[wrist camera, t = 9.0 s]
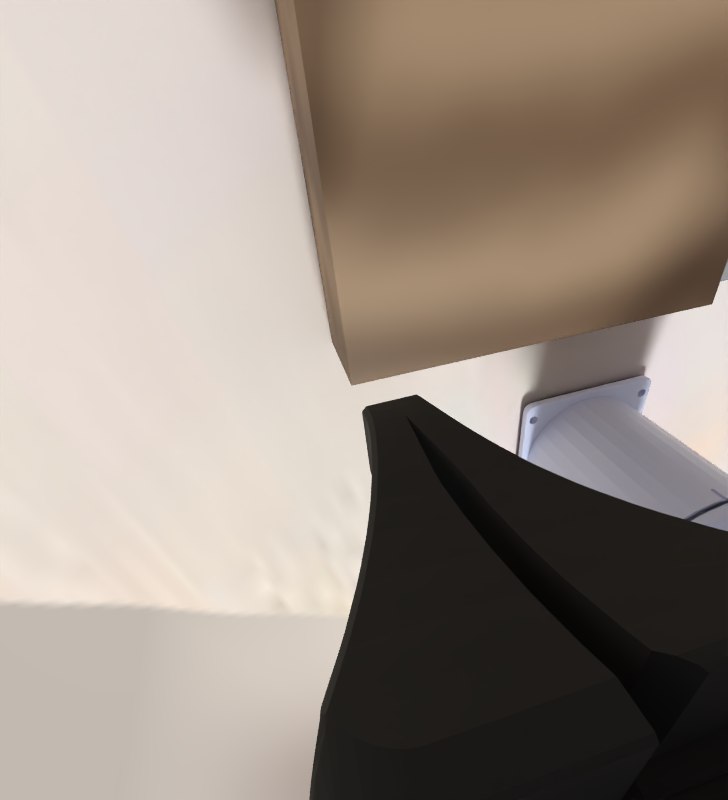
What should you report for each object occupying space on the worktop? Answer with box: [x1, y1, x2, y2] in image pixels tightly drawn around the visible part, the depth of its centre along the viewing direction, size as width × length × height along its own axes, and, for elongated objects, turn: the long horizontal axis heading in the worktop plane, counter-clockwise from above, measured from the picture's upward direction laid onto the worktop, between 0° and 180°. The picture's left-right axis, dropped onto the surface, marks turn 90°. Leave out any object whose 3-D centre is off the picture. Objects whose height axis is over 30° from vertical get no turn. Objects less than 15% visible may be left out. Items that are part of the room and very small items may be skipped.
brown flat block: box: [275, 0, 728, 385], centre depth 15 cm, size 14×16×4 cm
